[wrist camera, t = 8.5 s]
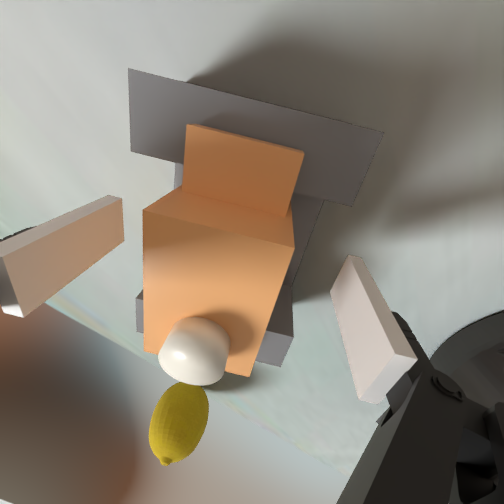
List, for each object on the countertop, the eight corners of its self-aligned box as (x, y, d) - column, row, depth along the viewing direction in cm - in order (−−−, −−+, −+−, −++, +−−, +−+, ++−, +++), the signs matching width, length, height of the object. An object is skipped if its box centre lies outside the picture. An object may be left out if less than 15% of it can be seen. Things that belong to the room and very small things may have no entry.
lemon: (169, 387, 30) (134, 469, 23) (172, 360, 27) (133, 443, 20) (212, 399, 30) (191, 484, 23) (219, 372, 27) (197, 459, 20)
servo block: (301, 141, 14) (330, 178, 5) (256, 294, 20) (234, 432, 11) (219, 120, 14) (114, 123, 5) (198, 280, 20) (131, 406, 11)
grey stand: (349, 123, 14) (386, 126, 9) (280, 308, 22) (279, 368, 16) (185, 82, 14) (127, 61, 9) (172, 281, 22) (136, 333, 16)
